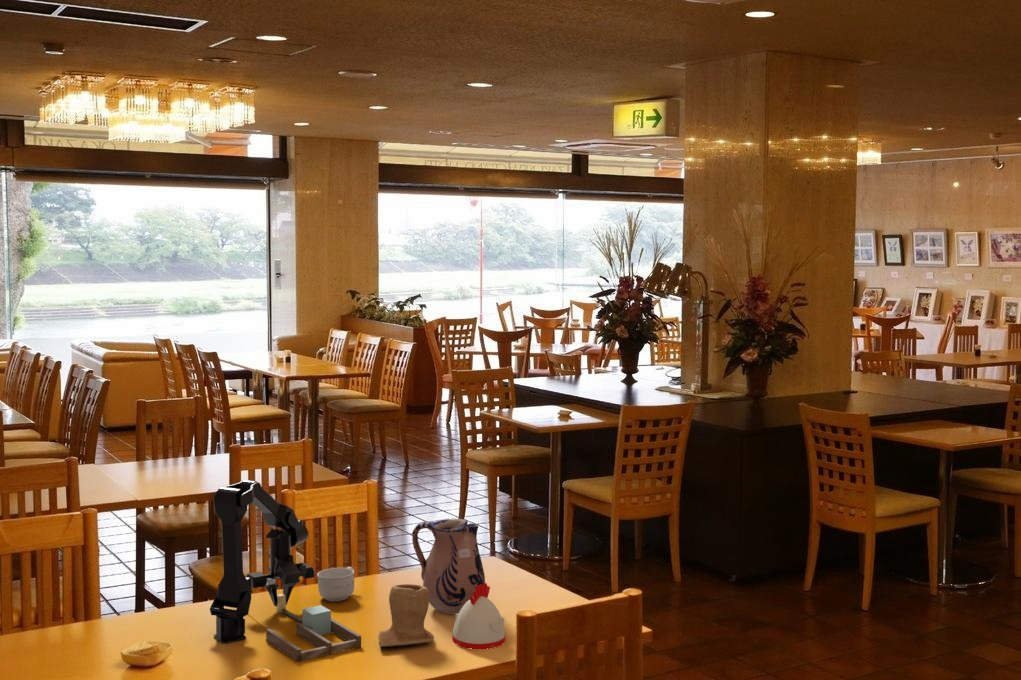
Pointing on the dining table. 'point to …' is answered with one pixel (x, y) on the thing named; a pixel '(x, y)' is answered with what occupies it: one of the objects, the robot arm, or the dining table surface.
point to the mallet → (309, 616)
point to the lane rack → (315, 641)
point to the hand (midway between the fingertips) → (280, 605)
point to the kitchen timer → (479, 622)
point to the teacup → (336, 583)
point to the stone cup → (407, 616)
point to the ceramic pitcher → (450, 563)
